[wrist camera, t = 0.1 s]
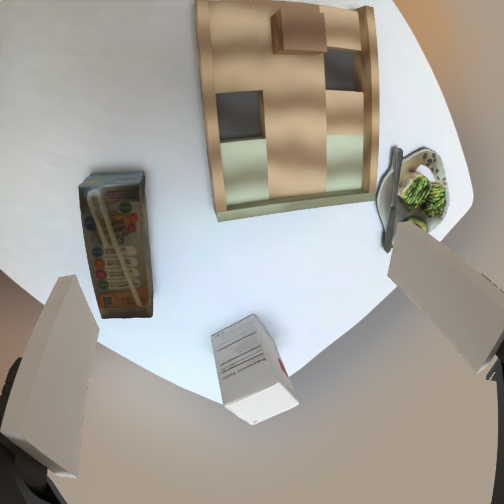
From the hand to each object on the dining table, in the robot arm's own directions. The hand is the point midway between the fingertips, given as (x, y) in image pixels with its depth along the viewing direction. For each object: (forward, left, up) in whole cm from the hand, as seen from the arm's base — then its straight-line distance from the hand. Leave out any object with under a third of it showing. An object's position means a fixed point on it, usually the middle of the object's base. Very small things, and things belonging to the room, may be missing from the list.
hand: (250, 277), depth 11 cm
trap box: (-5, +12, -28) cm, 31 cm away
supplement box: (+33, +3, -28) cm, 43 cm away
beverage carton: (+10, -12, -28) cm, 33 cm away
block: (-14, +12, -25) cm, 31 cm away
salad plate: (+11, +35, -28) cm, 46 cm away
